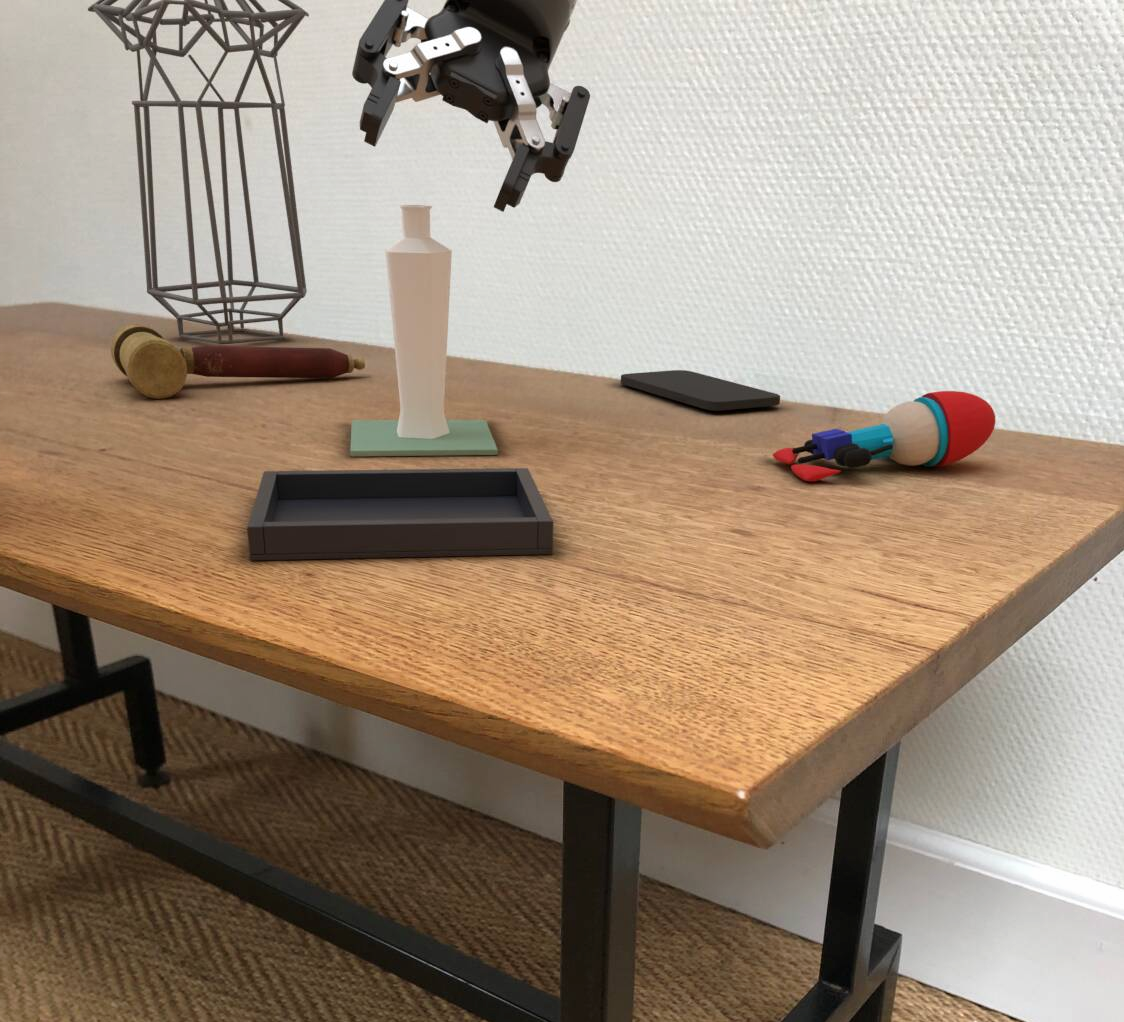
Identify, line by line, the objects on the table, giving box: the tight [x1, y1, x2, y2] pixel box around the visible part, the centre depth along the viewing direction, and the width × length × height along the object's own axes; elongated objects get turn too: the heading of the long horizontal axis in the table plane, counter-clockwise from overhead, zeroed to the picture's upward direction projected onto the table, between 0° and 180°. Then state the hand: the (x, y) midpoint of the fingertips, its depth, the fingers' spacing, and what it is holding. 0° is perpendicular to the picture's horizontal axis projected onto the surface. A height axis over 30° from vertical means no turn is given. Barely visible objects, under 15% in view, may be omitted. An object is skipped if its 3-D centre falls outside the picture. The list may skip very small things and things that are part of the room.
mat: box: [349, 419, 499, 458], centre depth 90 cm, size 10×10×1 cm
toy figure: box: [772, 390, 996, 483], centre depth 85 cm, size 8×5×15 cm
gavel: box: [110, 323, 366, 400], centre depth 108 cm, size 21×5×10 cm
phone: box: [620, 369, 781, 412], centre depth 108 cm, size 7×1×15 cm
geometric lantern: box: [87, 0, 310, 345], centre depth 123 cm, size 16×16×35 cm
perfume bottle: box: [384, 204, 453, 439], centre depth 87 cm, size 5×4×15 cm
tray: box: [246, 467, 554, 562], centre depth 70 cm, size 16×12×2 cm
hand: (437, 168), depth 76 cm, fingers open, 8 cm apart
